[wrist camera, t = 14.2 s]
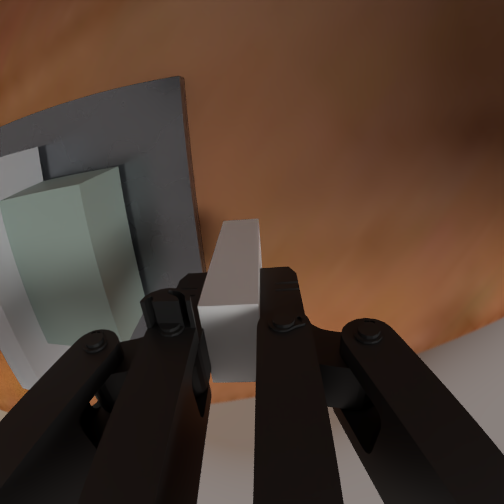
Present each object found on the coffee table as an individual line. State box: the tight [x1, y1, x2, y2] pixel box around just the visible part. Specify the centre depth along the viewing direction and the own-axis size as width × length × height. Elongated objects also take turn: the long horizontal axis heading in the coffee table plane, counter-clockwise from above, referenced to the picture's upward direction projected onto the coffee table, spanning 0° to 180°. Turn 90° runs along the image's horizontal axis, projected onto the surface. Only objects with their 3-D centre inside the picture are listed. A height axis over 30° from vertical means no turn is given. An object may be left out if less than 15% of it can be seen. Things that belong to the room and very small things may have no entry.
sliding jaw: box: [0, 147, 145, 390], centre depth 14 cm, size 12×7×6 cm, turn 4°
